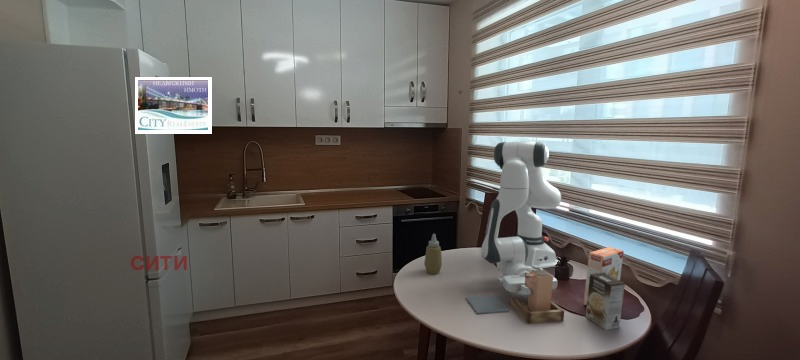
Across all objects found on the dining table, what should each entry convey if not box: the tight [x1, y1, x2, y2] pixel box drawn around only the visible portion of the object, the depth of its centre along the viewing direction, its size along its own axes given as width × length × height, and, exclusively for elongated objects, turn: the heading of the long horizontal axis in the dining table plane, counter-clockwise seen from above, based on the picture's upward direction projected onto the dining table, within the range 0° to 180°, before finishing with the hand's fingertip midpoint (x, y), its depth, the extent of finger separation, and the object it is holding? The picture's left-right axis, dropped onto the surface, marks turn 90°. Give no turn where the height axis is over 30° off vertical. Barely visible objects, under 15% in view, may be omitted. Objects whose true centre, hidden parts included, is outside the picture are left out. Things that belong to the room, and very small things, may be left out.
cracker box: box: [583, 246, 624, 306], centre depth 137 cm, size 14×6×21 cm, turn 122°
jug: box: [525, 269, 554, 312], centre depth 131 cm, size 9×6×15 cm, turn 100°
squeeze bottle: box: [424, 233, 443, 275], centre depth 165 cm, size 8×8×18 cm
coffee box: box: [585, 272, 626, 331], centre depth 124 cm, size 9×6×16 cm
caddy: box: [508, 296, 565, 324], centre depth 132 cm, size 13×14×4 cm
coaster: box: [465, 294, 510, 315], centre depth 136 cm, size 12×12×1 cm
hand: (540, 292), depth 131 cm, fingers closed on jug, 6 cm apart
